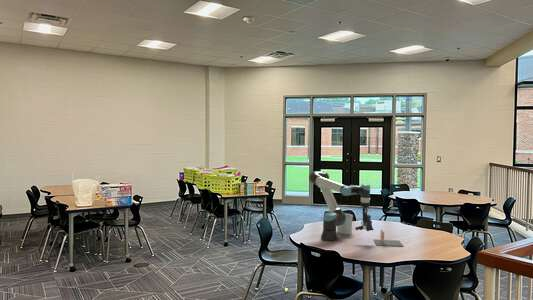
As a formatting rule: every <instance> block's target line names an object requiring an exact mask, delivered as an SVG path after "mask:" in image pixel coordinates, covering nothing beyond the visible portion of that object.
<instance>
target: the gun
mask: <svg viewBox="0 0 533 300" xmlns="http://www.w3.org/2000/svg"><path fill="white" fill-rule="evenodd" d="M363 217H364V216H363V215H362V218H363ZM371 218H372V217H371V215H370V214H367V222H366V231H367V232H369V231H374V228H373V225H372V224H373V221H372V220H371ZM360 224H361V225H359V226H355V227H354V228H355V231H362V230H364V229H363V220H362V221H361V222H360Z"/></svg>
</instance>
